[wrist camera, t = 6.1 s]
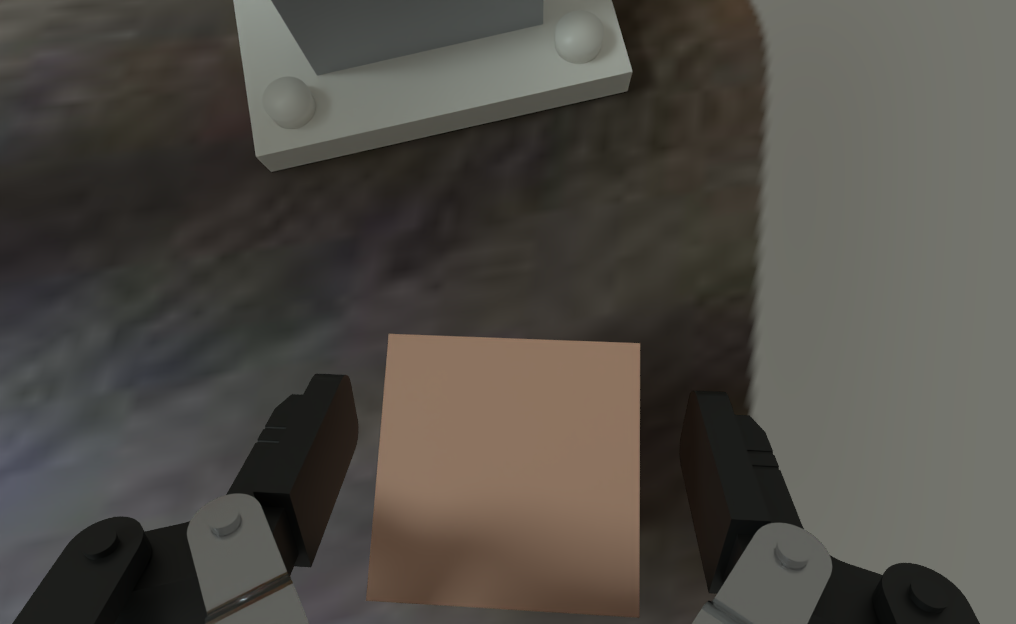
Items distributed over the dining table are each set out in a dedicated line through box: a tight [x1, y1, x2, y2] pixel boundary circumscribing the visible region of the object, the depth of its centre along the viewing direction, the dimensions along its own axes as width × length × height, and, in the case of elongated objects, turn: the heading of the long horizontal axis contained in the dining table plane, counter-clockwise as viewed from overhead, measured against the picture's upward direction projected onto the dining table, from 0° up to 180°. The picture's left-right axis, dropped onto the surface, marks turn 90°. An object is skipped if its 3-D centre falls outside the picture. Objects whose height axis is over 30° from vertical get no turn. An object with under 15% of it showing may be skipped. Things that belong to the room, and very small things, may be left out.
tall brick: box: [366, 334, 640, 618], centre depth 16 cm, size 5×5×8 cm
